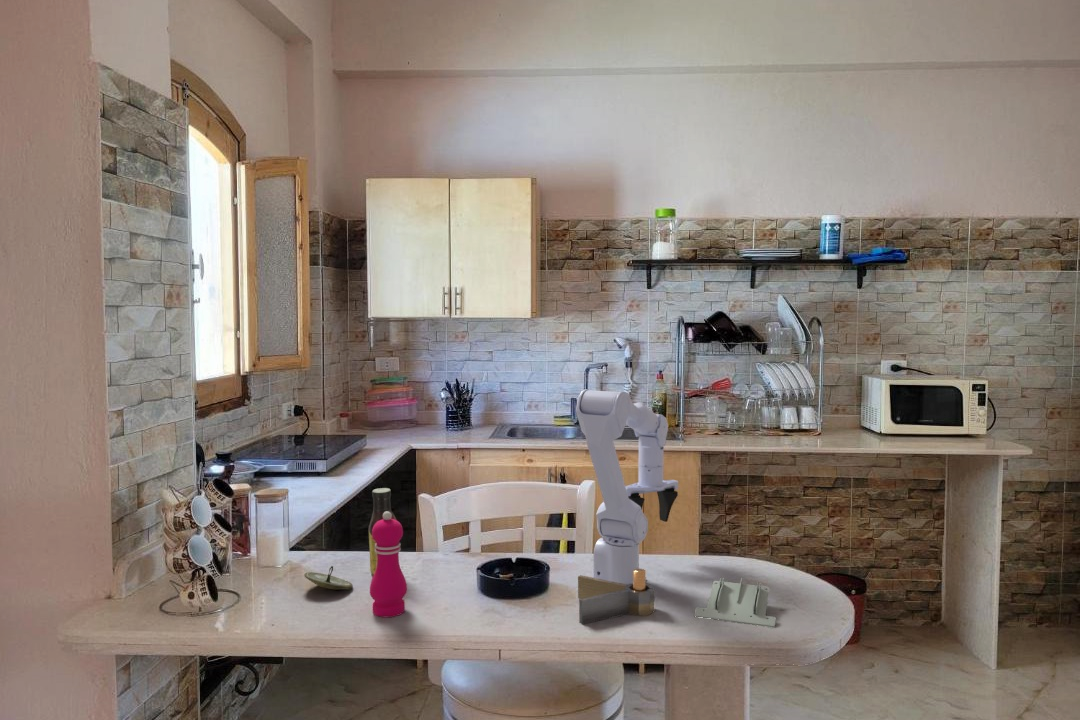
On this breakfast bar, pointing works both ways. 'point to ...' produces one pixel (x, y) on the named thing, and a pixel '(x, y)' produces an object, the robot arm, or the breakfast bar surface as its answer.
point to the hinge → (611, 599)
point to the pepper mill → (388, 569)
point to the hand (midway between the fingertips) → (650, 522)
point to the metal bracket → (738, 604)
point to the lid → (328, 581)
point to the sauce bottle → (380, 506)
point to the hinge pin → (639, 580)
